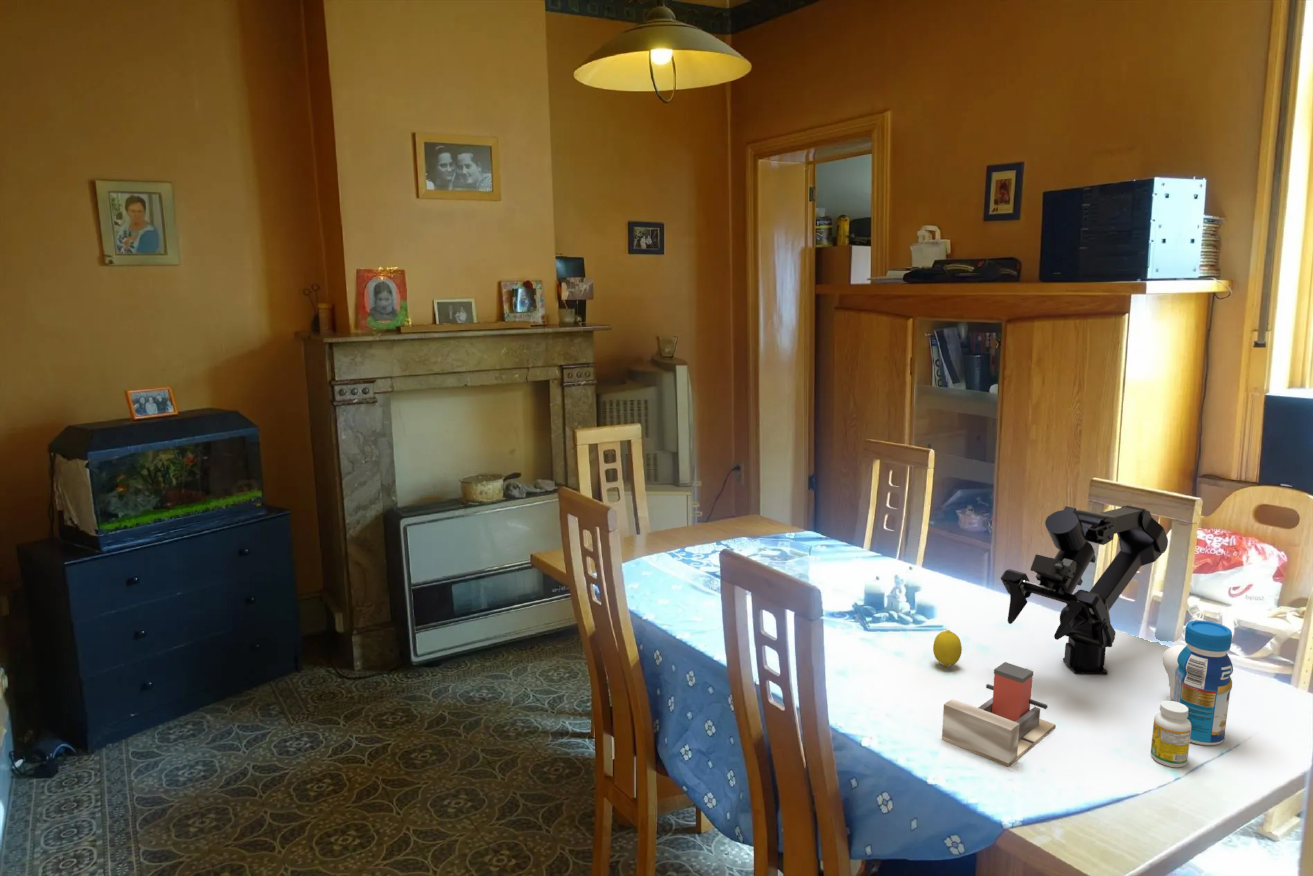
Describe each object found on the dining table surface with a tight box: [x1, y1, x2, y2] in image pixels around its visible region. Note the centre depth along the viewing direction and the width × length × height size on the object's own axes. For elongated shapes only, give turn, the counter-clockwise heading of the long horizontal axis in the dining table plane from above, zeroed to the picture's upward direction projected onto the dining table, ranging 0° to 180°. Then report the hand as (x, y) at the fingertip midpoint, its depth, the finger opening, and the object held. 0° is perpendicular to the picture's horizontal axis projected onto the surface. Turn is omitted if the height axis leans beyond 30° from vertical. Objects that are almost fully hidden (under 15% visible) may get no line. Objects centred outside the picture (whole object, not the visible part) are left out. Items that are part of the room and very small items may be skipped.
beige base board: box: [941, 697, 1056, 768], centre depth 154 cm, size 18×12×7 cm, turn 133°
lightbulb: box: [1161, 644, 1187, 700], centre depth 164 cm, size 6×6×11 cm
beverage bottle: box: [1172, 619, 1234, 746], centre depth 152 cm, size 8×8×20 cm
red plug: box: [985, 661, 1048, 722], centre depth 156 cm, size 4×11×10 cm, turn 43°
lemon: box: [932, 629, 963, 668], centre depth 180 cm, size 6×6×8 cm
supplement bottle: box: [1150, 700, 1191, 768], centre depth 145 cm, size 5×5×10 cm
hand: (1031, 630), depth 164 cm, fingers open, 9 cm apart
